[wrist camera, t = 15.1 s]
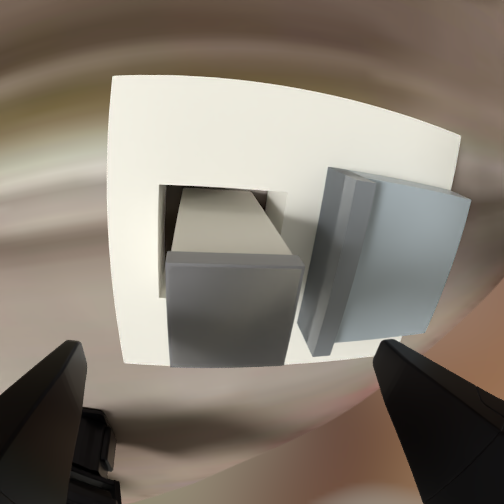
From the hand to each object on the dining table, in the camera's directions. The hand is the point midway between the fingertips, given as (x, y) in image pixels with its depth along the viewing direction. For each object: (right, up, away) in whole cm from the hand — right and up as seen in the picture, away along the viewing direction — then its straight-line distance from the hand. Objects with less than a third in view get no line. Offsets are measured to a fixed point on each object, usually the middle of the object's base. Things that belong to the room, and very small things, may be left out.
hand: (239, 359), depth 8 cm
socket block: (+2, +5, +11) cm, 12 cm away
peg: (-2, +5, +11) cm, 12 cm away
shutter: (+8, +3, +9) cm, 12 cm away
